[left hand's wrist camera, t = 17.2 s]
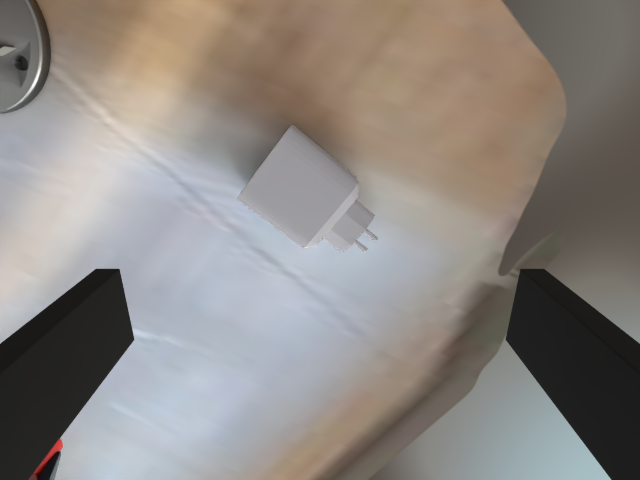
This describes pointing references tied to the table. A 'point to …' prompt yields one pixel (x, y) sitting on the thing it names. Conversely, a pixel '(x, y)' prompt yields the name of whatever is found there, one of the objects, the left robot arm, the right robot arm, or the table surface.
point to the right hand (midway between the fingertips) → (43, 450)
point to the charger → (307, 195)
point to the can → (46, 460)
